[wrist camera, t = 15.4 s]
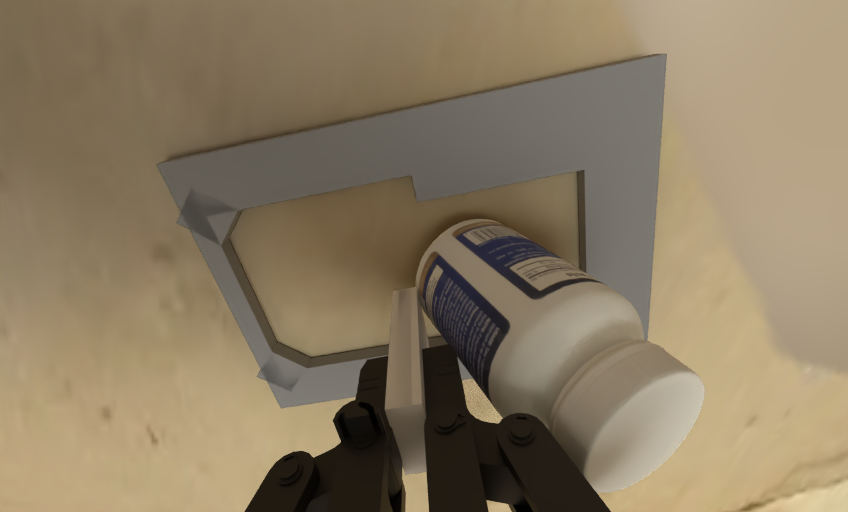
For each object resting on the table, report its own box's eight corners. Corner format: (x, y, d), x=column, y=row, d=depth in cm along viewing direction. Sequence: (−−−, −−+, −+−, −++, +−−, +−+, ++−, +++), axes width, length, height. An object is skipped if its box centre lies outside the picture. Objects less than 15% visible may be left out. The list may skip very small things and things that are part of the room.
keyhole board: (158, 161, 17) (146, 166, 16) (654, 54, 15) (666, 53, 14) (278, 398, 23) (273, 409, 22) (638, 341, 21) (646, 351, 20)
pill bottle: (459, 339, 20) (610, 532, 11) (387, 282, 17) (522, 485, 8) (535, 262, 19) (743, 400, 11) (476, 189, 16) (701, 306, 8)
